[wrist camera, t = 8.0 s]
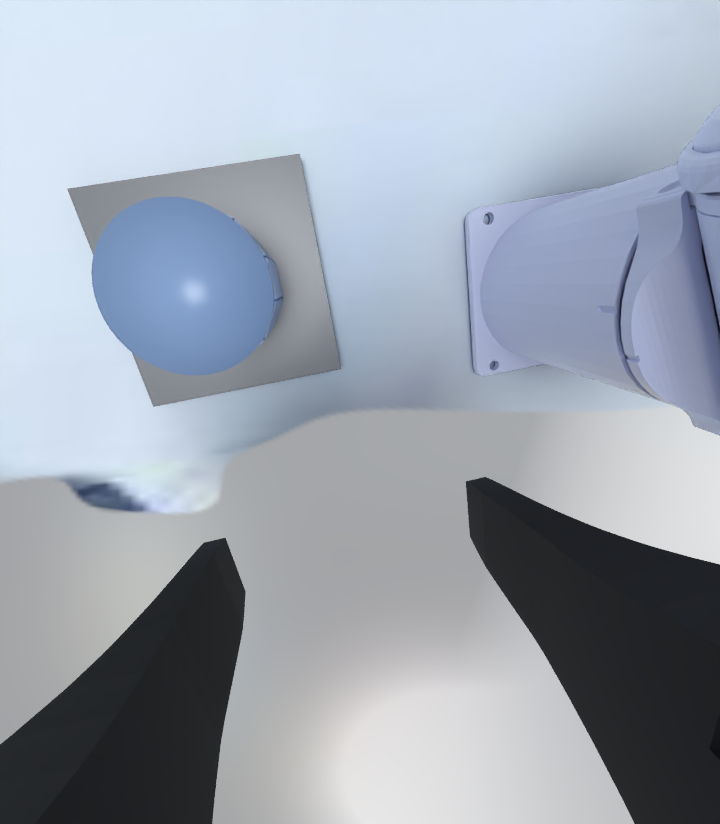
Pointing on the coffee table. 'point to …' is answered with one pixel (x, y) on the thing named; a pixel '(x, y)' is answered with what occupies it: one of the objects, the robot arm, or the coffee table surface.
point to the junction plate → (279, 236)
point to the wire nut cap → (185, 285)
